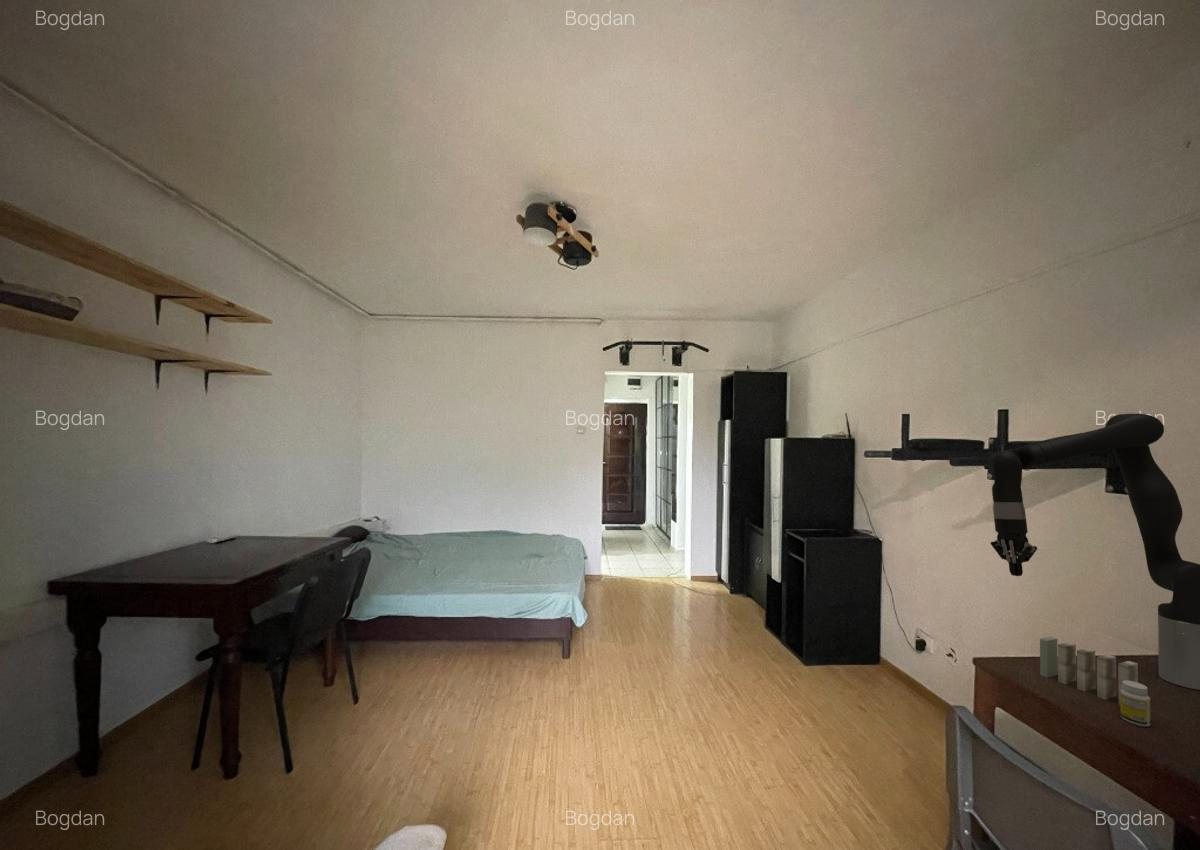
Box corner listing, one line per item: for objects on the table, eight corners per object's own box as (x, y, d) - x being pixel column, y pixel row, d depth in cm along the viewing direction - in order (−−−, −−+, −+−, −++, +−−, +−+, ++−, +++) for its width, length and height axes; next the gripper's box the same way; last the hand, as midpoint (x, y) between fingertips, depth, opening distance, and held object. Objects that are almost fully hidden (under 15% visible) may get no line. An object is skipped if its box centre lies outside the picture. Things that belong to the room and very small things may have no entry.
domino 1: (1050, 672, 136) (1050, 636, 137) (1057, 674, 135) (1057, 638, 135) (1040, 675, 134) (1039, 638, 135) (1047, 677, 133) (1046, 640, 133)
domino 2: (1068, 678, 133) (1068, 642, 133) (1076, 681, 131) (1075, 644, 131) (1058, 681, 131) (1057, 644, 131) (1065, 684, 129) (1065, 646, 130)
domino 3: (1087, 685, 129) (1087, 647, 129) (1095, 688, 127) (1095, 650, 128) (1077, 688, 127) (1076, 650, 127) (1085, 691, 126) (1084, 652, 126)
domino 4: (1107, 693, 125) (1107, 654, 126) (1116, 696, 124) (1115, 656, 124) (1097, 696, 123) (1096, 656, 124) (1105, 699, 122) (1105, 659, 122)
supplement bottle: (1131, 715, 115) (1131, 679, 115) (1156, 726, 110) (1156, 689, 111) (1114, 715, 114) (1114, 679, 115) (1139, 727, 110) (1139, 690, 110)
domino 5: (1129, 701, 121) (1128, 660, 122) (1138, 704, 120) (1137, 663, 120) (1118, 704, 120) (1118, 663, 120) (1127, 708, 118) (1127, 666, 118)
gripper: (1042, 518, 141) (1050, 579, 139) (999, 515, 154) (1006, 571, 152) (1020, 519, 140) (1027, 580, 138) (979, 516, 153) (985, 572, 151)
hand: (1016, 575), depth 145 cm, fingers closed
